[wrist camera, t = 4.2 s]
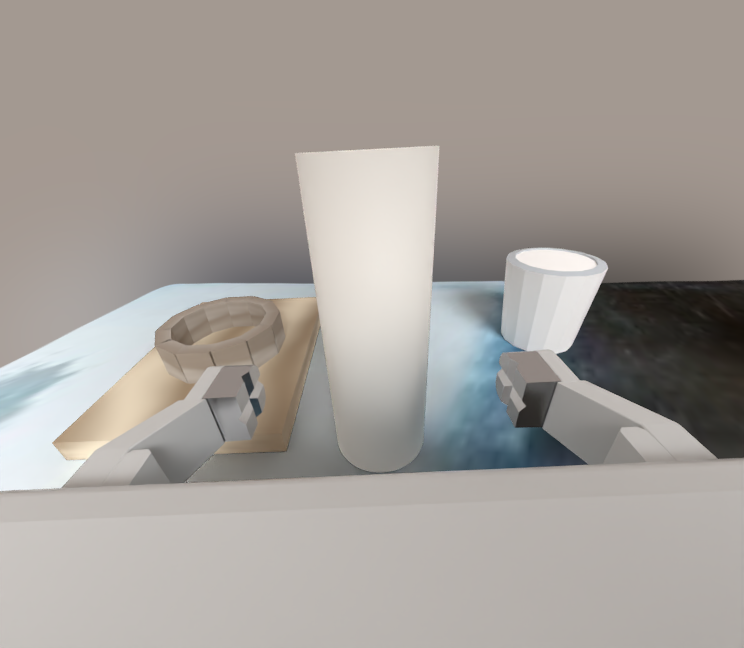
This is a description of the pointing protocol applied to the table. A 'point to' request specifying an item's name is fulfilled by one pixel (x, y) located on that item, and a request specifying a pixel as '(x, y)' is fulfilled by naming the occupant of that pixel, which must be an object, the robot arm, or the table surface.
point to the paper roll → (373, 292)
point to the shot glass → (548, 296)
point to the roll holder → (205, 349)
